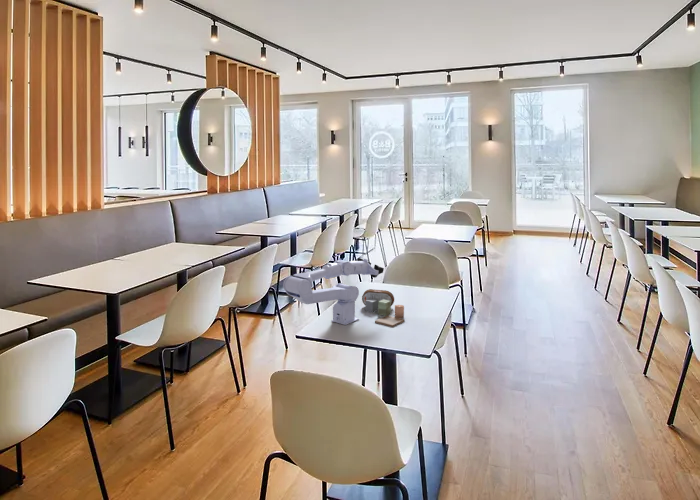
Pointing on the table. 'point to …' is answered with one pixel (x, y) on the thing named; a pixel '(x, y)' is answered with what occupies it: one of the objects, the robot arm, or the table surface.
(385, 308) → the green block
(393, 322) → the walnut board
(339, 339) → the table surface
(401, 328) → the table surface
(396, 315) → the peach rounded capsule
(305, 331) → the table surface
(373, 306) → the grey block
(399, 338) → the table surface
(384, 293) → the tin
